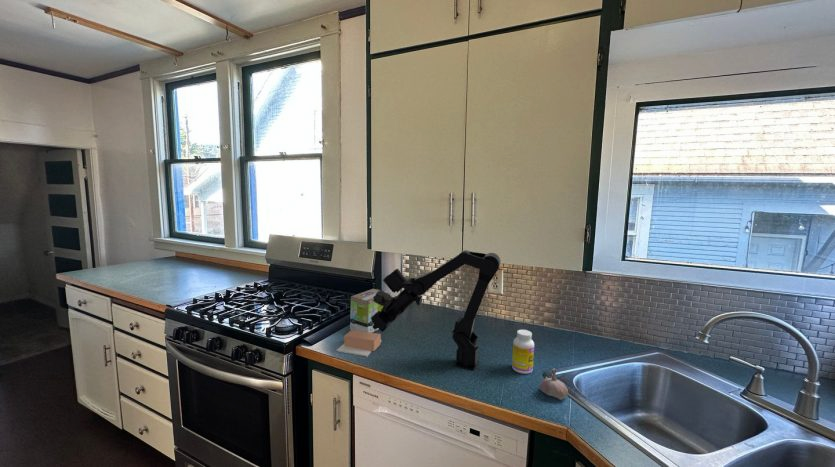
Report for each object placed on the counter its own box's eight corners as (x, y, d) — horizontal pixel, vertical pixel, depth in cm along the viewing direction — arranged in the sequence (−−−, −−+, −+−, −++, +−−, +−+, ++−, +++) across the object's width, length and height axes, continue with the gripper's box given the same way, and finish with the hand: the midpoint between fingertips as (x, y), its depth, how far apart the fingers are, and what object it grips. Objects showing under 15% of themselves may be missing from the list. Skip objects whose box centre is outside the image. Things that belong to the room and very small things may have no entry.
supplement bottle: (529, 376, 110) (532, 338, 108) (509, 370, 113) (511, 333, 112) (534, 367, 115) (537, 331, 114) (515, 362, 119) (517, 326, 117)
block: (380, 334, 129) (351, 329, 133) (373, 340, 124) (344, 335, 127) (380, 344, 130) (352, 339, 133) (373, 351, 124) (344, 346, 128)
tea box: (368, 336, 138) (368, 300, 136) (349, 330, 143) (349, 296, 141) (390, 324, 151) (390, 291, 149) (372, 319, 156) (372, 287, 154)
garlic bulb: (534, 389, 103) (536, 364, 102) (555, 385, 105) (556, 361, 104) (551, 404, 96) (553, 377, 95) (573, 400, 98) (575, 373, 97)
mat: (381, 341, 133) (381, 339, 133) (366, 356, 121) (366, 355, 121) (353, 336, 137) (353, 335, 137) (336, 351, 125) (336, 349, 125)
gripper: (396, 278, 131) (370, 303, 136) (376, 291, 114) (347, 319, 118) (415, 300, 130) (388, 324, 135) (398, 317, 113) (367, 344, 117)
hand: (373, 327), depth 126 cm, fingers closed
